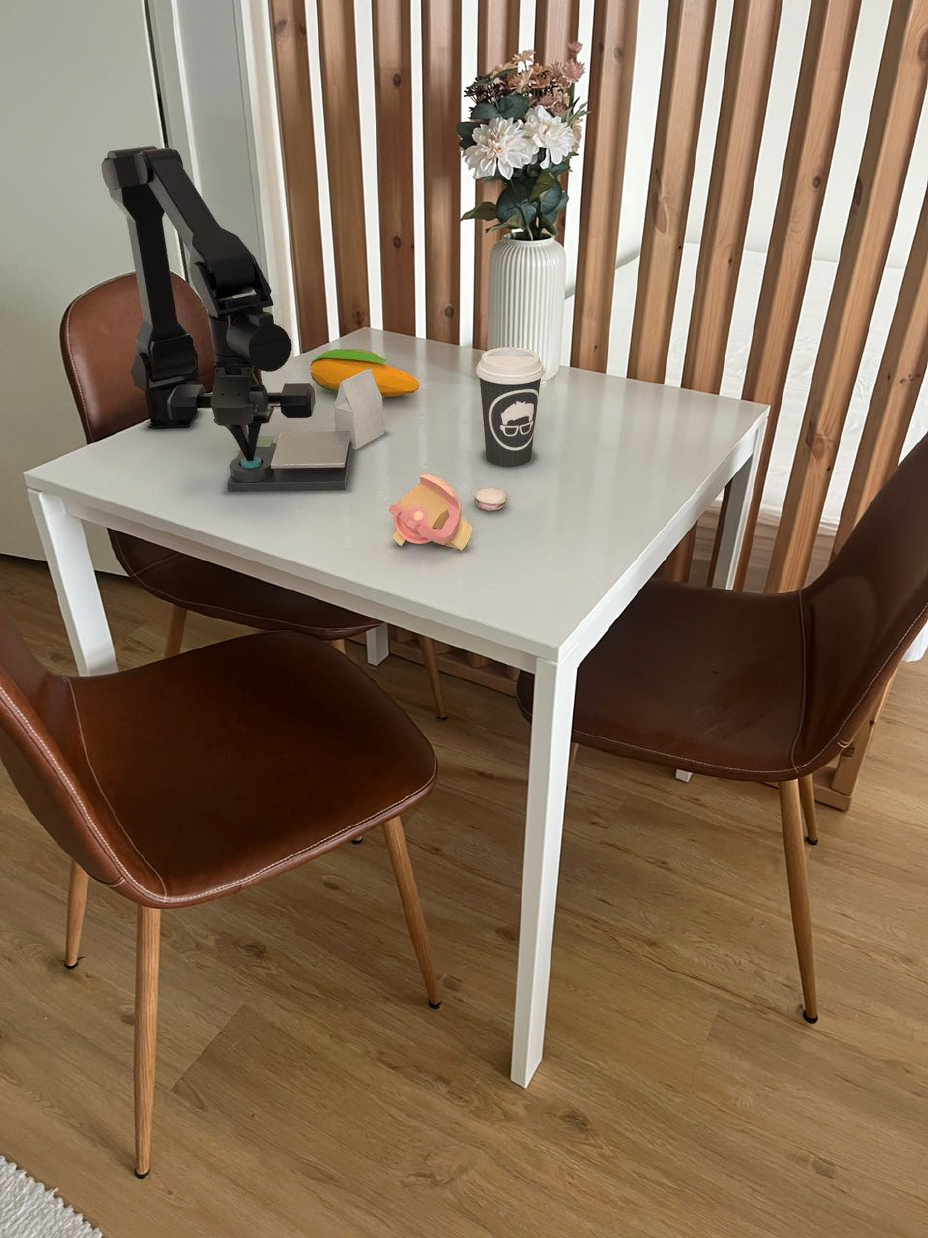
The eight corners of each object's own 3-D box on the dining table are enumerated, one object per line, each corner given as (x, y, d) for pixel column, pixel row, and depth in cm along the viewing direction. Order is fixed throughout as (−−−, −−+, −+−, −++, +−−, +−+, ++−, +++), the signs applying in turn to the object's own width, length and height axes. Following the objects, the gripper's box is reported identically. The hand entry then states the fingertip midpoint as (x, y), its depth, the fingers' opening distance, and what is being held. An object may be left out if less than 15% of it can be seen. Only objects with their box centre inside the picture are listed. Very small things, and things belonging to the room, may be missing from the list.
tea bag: (384, 434, 153) (380, 370, 147) (355, 449, 148) (351, 385, 143) (365, 428, 155) (361, 366, 149) (336, 444, 150) (331, 379, 145)
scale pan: (270, 468, 137) (270, 464, 136) (281, 435, 146) (280, 431, 145) (344, 467, 137) (344, 463, 136) (350, 434, 146) (350, 430, 145)
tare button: (240, 474, 138) (238, 464, 137) (243, 466, 140) (242, 455, 139) (260, 474, 138) (259, 464, 137) (263, 465, 140) (262, 455, 139)
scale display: (242, 448, 142) (241, 446, 142) (246, 437, 145) (245, 436, 145) (270, 448, 142) (270, 446, 142) (273, 437, 145) (273, 435, 145)
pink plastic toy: (382, 532, 129) (424, 470, 129) (446, 576, 129) (488, 514, 129) (374, 528, 120) (419, 461, 119) (443, 575, 120) (488, 509, 119)
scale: (228, 492, 137) (225, 472, 136) (243, 452, 148) (241, 433, 146) (345, 490, 138) (343, 470, 136) (352, 450, 148) (350, 431, 147)
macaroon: (468, 507, 133) (468, 490, 132) (491, 494, 136) (492, 477, 135) (493, 517, 131) (493, 500, 130) (517, 503, 134) (517, 486, 133)
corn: (321, 336, 167) (429, 352, 160) (326, 378, 172) (432, 396, 165) (298, 353, 162) (408, 370, 155) (304, 396, 167) (412, 415, 160)
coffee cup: (551, 449, 148) (555, 350, 140) (526, 476, 141) (530, 373, 132) (491, 438, 151) (492, 341, 143) (465, 464, 144) (464, 363, 136)
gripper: (147, 372, 122) (169, 487, 131) (301, 370, 123) (312, 485, 131) (168, 341, 132) (187, 451, 140) (310, 340, 132) (320, 449, 141)
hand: (250, 459), depth 138 cm, fingers closed, pressing on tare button
